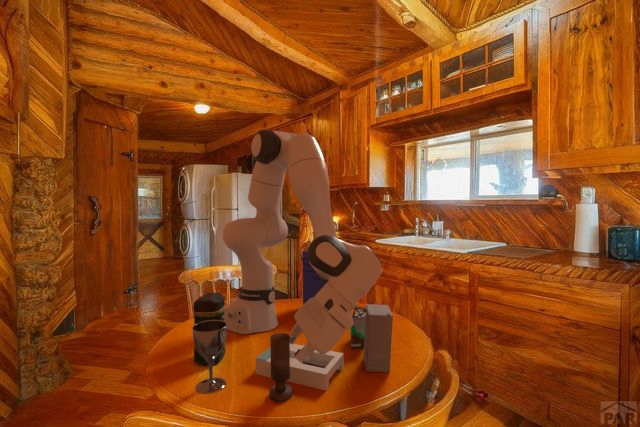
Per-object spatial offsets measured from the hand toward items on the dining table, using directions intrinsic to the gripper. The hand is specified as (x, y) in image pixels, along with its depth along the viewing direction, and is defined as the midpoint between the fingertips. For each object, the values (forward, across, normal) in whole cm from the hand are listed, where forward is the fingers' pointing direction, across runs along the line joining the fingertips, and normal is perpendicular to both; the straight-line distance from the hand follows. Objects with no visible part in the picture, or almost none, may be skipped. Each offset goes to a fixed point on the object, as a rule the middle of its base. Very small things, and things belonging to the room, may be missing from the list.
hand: (292, 349), depth 80 cm
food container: (-11, -21, +26) cm, 35 cm away
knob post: (+10, 0, +5) cm, 11 cm away
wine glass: (+21, -9, -6) cm, 23 cm away
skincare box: (-10, -7, +25) cm, 28 cm away
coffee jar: (+21, -24, -6) cm, 33 cm away
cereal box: (-10, -56, +25) cm, 62 cm away
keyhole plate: (+5, -10, +10) cm, 15 cm away
